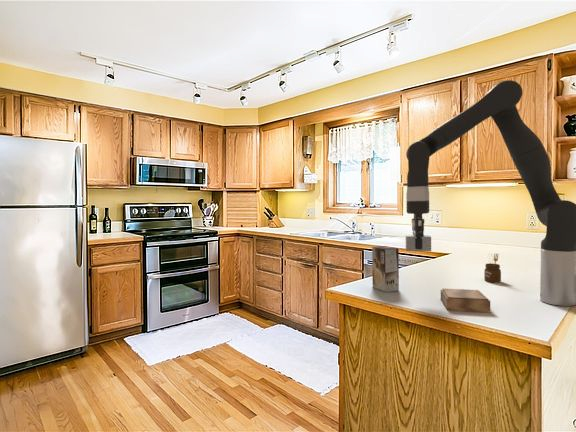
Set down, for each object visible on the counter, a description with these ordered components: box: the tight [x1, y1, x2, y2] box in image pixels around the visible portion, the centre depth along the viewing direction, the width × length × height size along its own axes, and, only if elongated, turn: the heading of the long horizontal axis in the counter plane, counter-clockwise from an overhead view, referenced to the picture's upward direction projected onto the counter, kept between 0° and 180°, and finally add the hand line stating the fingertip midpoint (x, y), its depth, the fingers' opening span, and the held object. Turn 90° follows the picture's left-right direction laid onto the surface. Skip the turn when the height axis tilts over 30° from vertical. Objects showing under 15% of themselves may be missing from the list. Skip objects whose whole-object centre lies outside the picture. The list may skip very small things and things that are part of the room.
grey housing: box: [405, 233, 432, 252], centre depth 124 cm, size 8×5×6 cm, turn 75°
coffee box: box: [371, 245, 400, 293], centre depth 136 cm, size 9×6×16 cm
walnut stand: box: [440, 288, 491, 314], centre depth 113 cm, size 12×12×4 cm
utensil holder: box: [483, 253, 502, 284], centre depth 146 cm, size 6×6×12 cm
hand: (418, 248), depth 125 cm, fingers closed on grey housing, 5 cm apart
